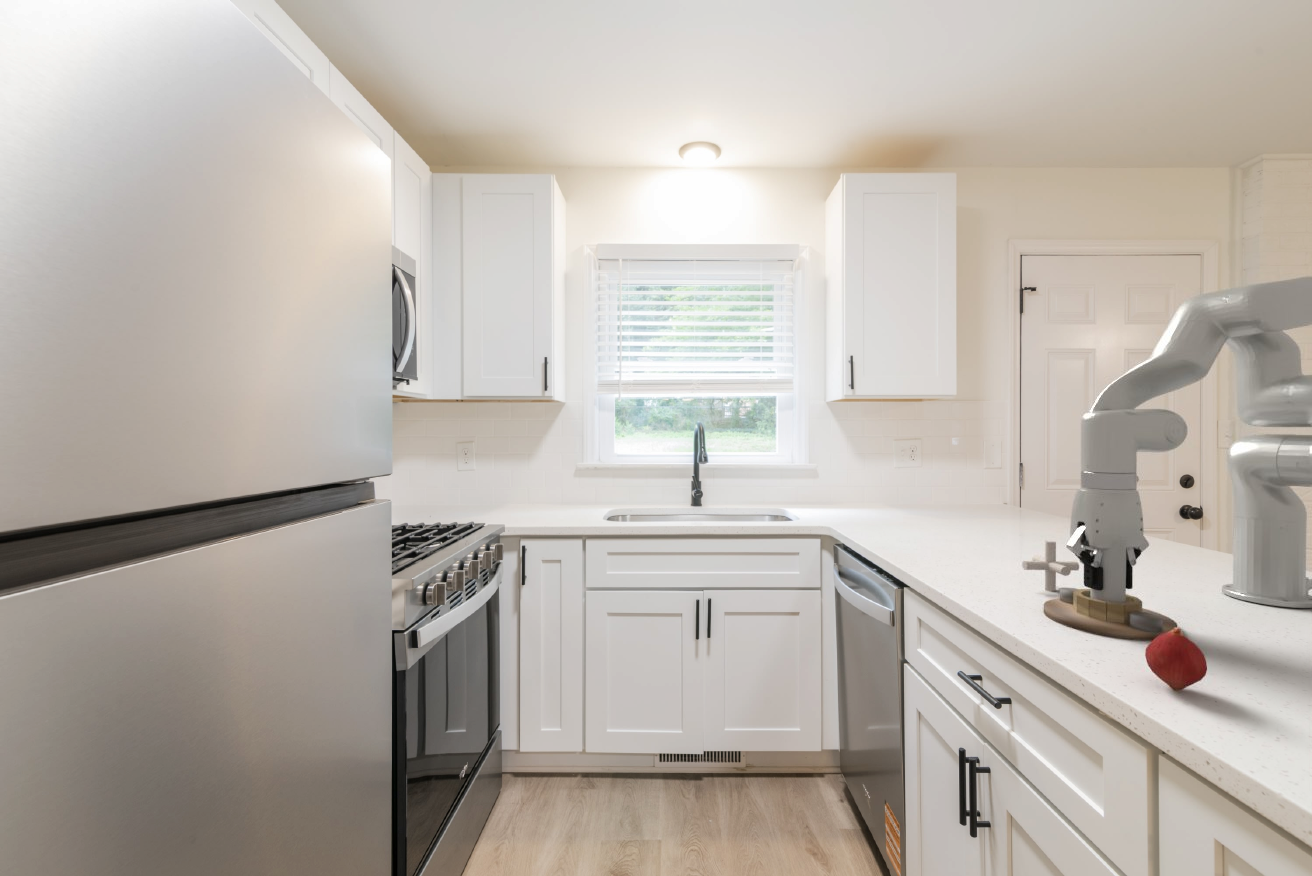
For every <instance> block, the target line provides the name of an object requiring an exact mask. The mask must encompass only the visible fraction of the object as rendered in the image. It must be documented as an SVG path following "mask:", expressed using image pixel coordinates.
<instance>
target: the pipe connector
mask: <svg viewBox="0 0 1312 876" xmlns="http://www.w3.org/2000/svg"><path fill="white" fill-rule="evenodd" d="M1021 565H1022V566H1021V567H1022V568H1023V570H1027V571H1044V590H1045V591H1049V592H1056V590H1057V589H1056V588H1057V585H1056V584H1057V581H1056V580H1057V574H1060V575H1061V576H1065V577H1068V576H1069V575H1071V572H1072V571H1079V569H1080V564H1079V562H1078V561H1065V560H1064V561H1063V560H1062V561H1060V560H1059V561H1058V560H1057V541H1054V540H1045V541H1044V557H1042V556H1041V555H1037V554H1036V555H1034V556H1033V557H1032V560H1023V561H1022V564H1021Z"/></svg>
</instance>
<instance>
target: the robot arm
mask: <svg viewBox="0 0 1312 876" xmlns="http://www.w3.org/2000/svg"><path fill="white" fill-rule="evenodd" d="M1309 326H1312V275H1310V276H1309V275H1307V276H1306V275H1305V276H1302V277H1295V278H1290V279H1284V280H1277V281H1269V282H1263V283H1255V284H1249V285H1243V286H1238V287H1233V288H1228V289H1227V288H1226V289H1223V290H1217V291H1211V292H1206V293H1202V294H1198V295H1195V296H1192V297H1189V298H1188V299H1186V300H1185V301H1183V302H1182V304H1180V305H1179V307H1178V308H1177V310H1176V311H1175V313H1174V314H1173V316H1172V317H1171V319H1170V321H1169V323H1168V324H1167V326H1166V328H1165V330H1164V332H1163V334H1162V335H1161V336H1160V339H1159V341H1157V343H1156V345H1155V347H1154V349H1153V351H1152V353H1151V354H1150V356H1149V357H1148V358H1147V359H1145V360H1144V361H1142V362H1140V363H1139V364H1137V365H1135V366H1134V367H1132V368H1131V369H1129V370H1128V371H1126V372H1125V373H1124V374H1122V375H1121V376H1120V377H1118V378H1117V379H1115V380H1113V382H1111V383H1110V384H1109V385H1107V386H1106V387H1105V388H1104V390H1103V391H1101V393H1100V394H1099V396H1097V399H1096V400H1095V402H1094V403H1093V405H1092V407H1091V409H1090V410H1089V411H1087V412H1086V413H1084V414H1083V415H1082V416H1081V419H1080V489H1076V491H1075V494H1074V497H1073V501H1072V507H1071V508H1072V509H1071V515H1070V528H1069V529H1070V530H1069V531H1070V532H1069V535H1070V537H1069V541H1068V542H1067V544H1066V548H1067V549H1068V550H1069V551H1071V552H1072V553H1073V554H1074V555H1075V556H1076V558H1078V560H1079V562H1080V564H1082V565H1083V585H1084V587H1086V588H1088V589H1090V588H1092V589H1095V590H1098V591H1101V590H1102V589H1103V568H1102V567H1099V565H1100V561H1101V557H1102V553H1103V550H1106V549H1109V548H1111V547H1112V544H1113V542H1114V541H1115V540H1117V539H1122V540H1125V544H1126V590H1132V589H1133V587H1134V586H1133V580H1134V578H1133V573H1134V572H1133V569H1134V568H1133V567H1134V566H1136V565H1137V559H1138V558H1139V557H1140V556H1141V555H1142V553H1143V552H1144V551H1145V550H1146V549H1148V547H1149V546H1150V543H1149V541H1148V540H1147V538H1146V537H1145V536H1144V534H1145V533H1144V515H1143V506H1142V502H1141V497H1140V493H1139V491H1138V490H1137V488H1138V487H1137V483H1138V482H1139V481H1140V477H1139V476H1138V475H1137V461H1138V460H1137V457H1138V455H1137V453H1166V452H1170V451H1172V450H1175V449H1177V448H1179V447H1180V446H1181V445H1182V444H1183V443H1184V442H1185V440H1186V439H1187V435H1188V426H1187V423H1186V420H1185V419H1184V418H1183V417H1182V416H1181V415H1180V414H1178V413H1176V412H1175V411H1172V410H1170V409H1165V408H1164V409H1163V408H1140V409H1138V407H1139V406H1140V405H1142V404H1144V403H1145V402H1147V401H1150V400H1152V399H1154V398H1157V397H1160V396H1162V395H1165V394H1168V393H1172V392H1175V391H1177V390H1180V389H1182V388H1185V387H1188V386H1191V385H1192V384H1195V383H1197V382H1199V381H1201V380H1203V379H1204V378H1205V377H1206V376H1207V375H1208V374H1209V372H1210V370H1211V368H1212V367H1213V364H1214V363H1215V362H1216V359H1217V358H1218V355H1219V354H1220V353H1221V350H1222V348H1223V347H1224V345H1225V344H1226V345H1227V346H1228V347H1229V350H1230V351H1231V352H1232V355H1233V357H1234V362H1235V381H1236V382H1235V383H1236V384H1235V386H1236V388H1235V389H1236V390H1235V391H1236V409H1237V415H1238V418H1239V419H1240V421H1242V422H1243V423H1244V424H1245V425H1248V426H1251V427H1258V428H1259V427H1260V428H1312V374H1307V375H1305V374H1303V370H1302V357H1301V349H1300V347H1299V345H1298V343H1297V342H1296V341H1295V340H1294V339H1293V338H1292V337H1291V336H1290V335H1289V334H1287V333H1286V332H1285V331H1288V330H1292V329H1293V330H1294V329H1297V328H1302V327H1309ZM1226 461H1227V468H1228V470H1229V474H1230V478H1231V479H1230V480H1231V485H1232V492H1233V493H1232V494H1233V539H1232V541H1233V542H1232V545H1233V549H1232V551H1233V553H1232V558H1233V559H1232V583H1227V584H1223V585H1222V586H1221V592H1222V593H1223V594H1224V595H1227V596H1229V597H1232V598H1235V599H1239V600H1241V601H1246V602H1250V603H1255V604H1262V605H1266V606H1274V607H1282V608H1294V609H1312V595H1310V594H1309V591H1310V590H1312V578H1309V577H1306V576H1307V523H1308V522H1307V520H1308V517H1307V516H1308V514H1307V508H1306V505H1305V504H1304V501H1303V500H1302V499H1301V497H1300V496H1299V495H1298V494H1297V493H1296V492H1295V491H1294V490H1293V488H1291V487H1302V488H1304V487H1305V488H1312V434H1295V433H1294V434H1288V433H1287V434H1281V433H1280V434H1277V433H1275V434H1271V433H1270V434H1268V433H1267V434H1266V433H1265V434H1263V433H1262V434H1253V435H1246V436H1243V437H1240V438H1239V439H1236V440H1235V441H1233V442H1232V444H1230V446H1229V447H1228V449H1227V453H1226ZM1118 537H1122V538H1118ZM1091 550H1092V551H1094V552H1093V556H1091V555H1090V553H1091Z"/></svg>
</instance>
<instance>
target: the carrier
mask: <svg viewBox="0 0 1312 876" xmlns="http://www.w3.org/2000/svg"><path fill="white" fill-rule="evenodd" d="M1043 613H1044V615H1045V616H1046V617H1047V618H1048V619H1049V620H1052V621H1053V622H1056V623H1058V624H1060V625H1063V626H1065V625H1066V627H1068V626H1069V628H1071V627H1072V629H1074V630H1075V629H1076V630H1078V629H1079V631H1082V632H1086V633H1090V634H1096V635H1100V636H1106V637H1111V638H1118V639H1123V640H1124V639H1125V640H1134V639H1137V641H1153V640H1154V639H1155V638H1156V637H1158V636H1159V635H1161V634H1164V633H1167V632H1169V631H1172V630H1173V629H1174V628H1178V623H1177V622H1176V621H1175V620H1173V619H1172V618H1171V617H1168V616H1166V615H1164V614H1162V613H1159V612H1156V611H1153V610H1149V609H1147V608H1143V600H1141V599H1140V598H1139V597H1137V596H1133V595H1131V594H1127V593H1126V602H1125V603H1116V602H1106V601H1101V600H1096V599H1092V598H1090V588H1081V589H1080V588H1075V587H1060V588H1059V597H1058V598H1052V599H1049V600H1046V601H1045V602H1044V603H1043ZM1138 639H1140V640H1138Z"/></svg>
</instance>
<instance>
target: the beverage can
mask: <svg viewBox="0 0 1312 876" xmlns="http://www.w3.org/2000/svg"><path fill="white" fill-rule="evenodd" d="M1118 538H1122V537H1118ZM1093 552H1094V551H1092V550H1091V553H1090V555H1091V556H1093ZM1099 567H1102V568H1103V589H1102V590H1101V591H1098V590H1095V589H1092V588H1089V589H1090V598H1092V599H1096V600H1101V601H1106V602H1116V603H1125V602H1126V594H1127V592H1126V591H1127V589H1126V544H1125V540H1122V539H1117V540H1115V541H1114V542H1113V544H1112V547H1111V548H1109V549H1106V550H1103V553H1102V557H1101V561H1100V565H1099Z"/></svg>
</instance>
